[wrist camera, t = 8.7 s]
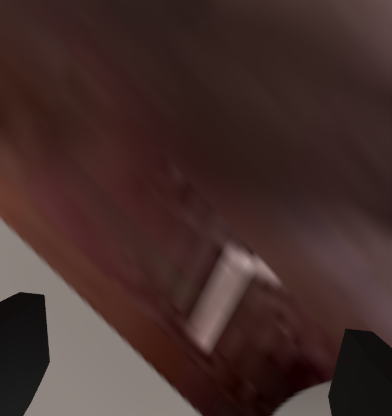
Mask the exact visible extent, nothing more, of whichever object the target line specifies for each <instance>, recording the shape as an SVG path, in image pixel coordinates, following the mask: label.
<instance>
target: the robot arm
mask: <svg viewBox="0 0 392 416" xmlns="http://www.w3.org/2000/svg"><path fill="white" fill-rule="evenodd" d="M46 322H47V321H46V308H45V297H44V295H41V294H32V293H24V292H19V293H17V294H15V295H13V296H11V297H9V298H7V299H5V300H3V301H1V302H0V416H23V415H24V413H25V411H26V410H27V408H28V407H29V405H30V403H31V401H32V399H33V397H34V395H35V393H36V391H37V389H38V387H39V385H40V383H41V381H42V378H43V376H44V374H45V372H46V369H47V367H48V365H49V362H50V358H49V347H48V335H47V334H48V333H47V323H46ZM328 398H329V403H330V409H331V414H332V416H392V348H391V347H390V346H389V345H388V344H386V343H385V342H384V341H383V340H382V339H381V338H380V337H378V336H377V335H376V334H375V333H373V332H370V331H362V330H353V329H345V333H344V337H343V341H342V344H341V348H340V352H339V356H338V360H337V364H336V368H335V372H334V375H333V379H332V383H331V387H330V391H329V395H328Z"/></svg>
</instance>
